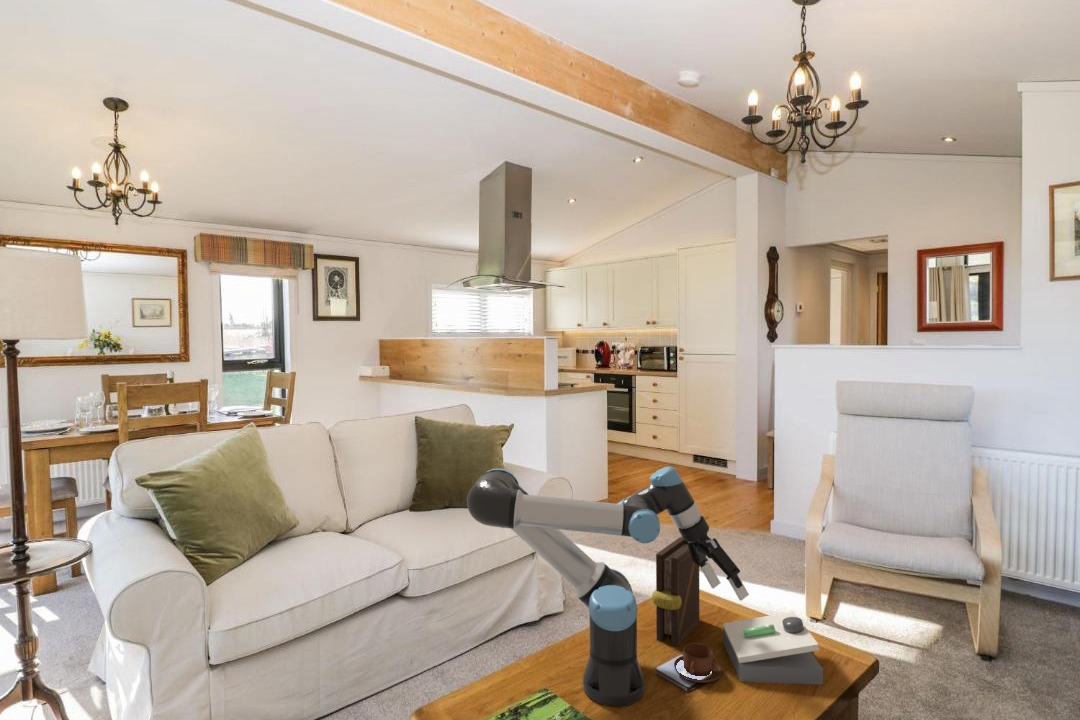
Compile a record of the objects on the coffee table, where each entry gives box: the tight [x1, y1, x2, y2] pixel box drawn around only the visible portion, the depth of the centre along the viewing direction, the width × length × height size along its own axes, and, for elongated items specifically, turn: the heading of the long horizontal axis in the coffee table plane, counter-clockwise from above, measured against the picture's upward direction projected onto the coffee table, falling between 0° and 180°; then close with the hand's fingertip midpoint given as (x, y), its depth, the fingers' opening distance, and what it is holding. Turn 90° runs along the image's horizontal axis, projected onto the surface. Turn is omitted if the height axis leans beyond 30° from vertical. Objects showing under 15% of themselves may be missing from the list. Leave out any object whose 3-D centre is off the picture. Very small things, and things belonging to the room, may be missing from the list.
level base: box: [722, 627, 824, 686], centre depth 156 cm, size 20×20×4 cm
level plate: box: [722, 611, 820, 663], centre depth 156 cm, size 20×18×4 cm
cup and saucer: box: [673, 643, 723, 684], centre depth 151 cm, size 12×12×6 cm
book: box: [651, 536, 700, 647], centre depth 173 cm, size 22×8×25 cm, turn 144°
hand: (729, 591), depth 155 cm, fingers open, 13 cm apart
